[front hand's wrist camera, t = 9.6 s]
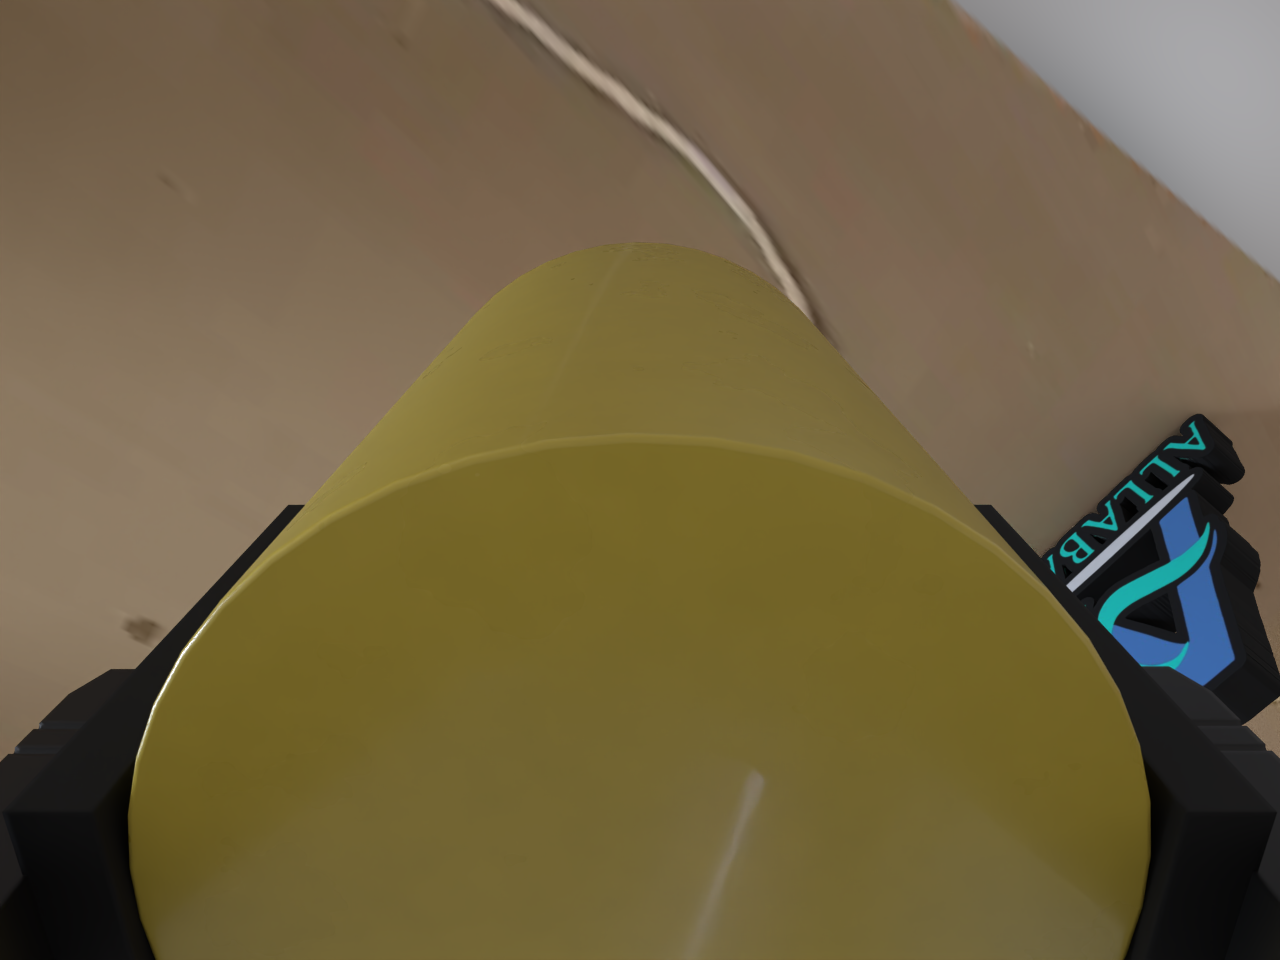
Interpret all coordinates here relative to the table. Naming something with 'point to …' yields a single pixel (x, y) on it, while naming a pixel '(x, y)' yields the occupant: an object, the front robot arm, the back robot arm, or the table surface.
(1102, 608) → the decorative sign
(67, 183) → the table surface
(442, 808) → the can
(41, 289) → the table surface
